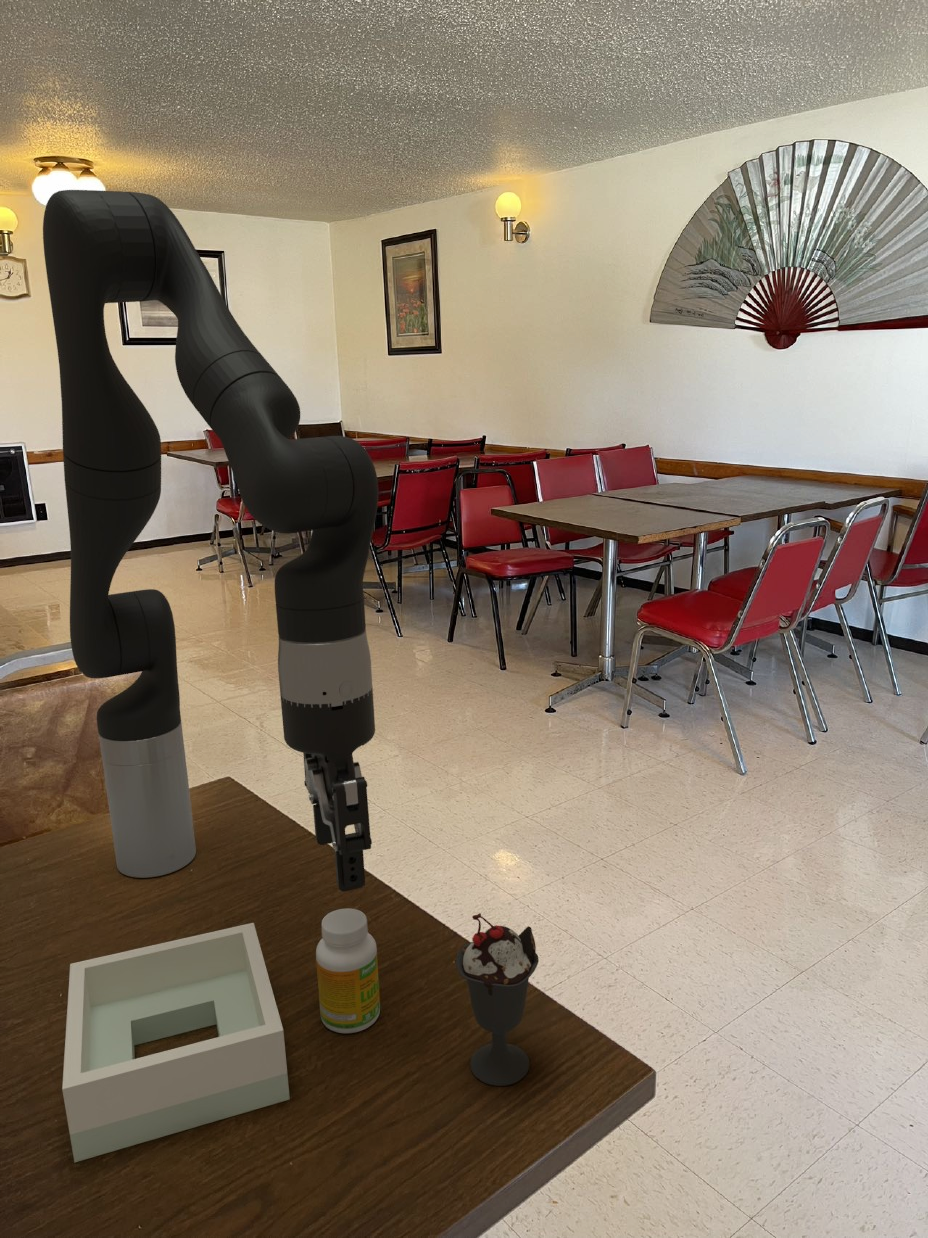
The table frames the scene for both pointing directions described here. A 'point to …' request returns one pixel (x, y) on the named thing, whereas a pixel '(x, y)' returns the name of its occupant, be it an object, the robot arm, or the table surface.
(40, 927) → the table surface
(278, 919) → the table surface
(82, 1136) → the bore box
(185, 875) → the table surface
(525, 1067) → the sundae
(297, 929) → the table surface
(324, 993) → the supplement bottle
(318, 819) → the robot arm
